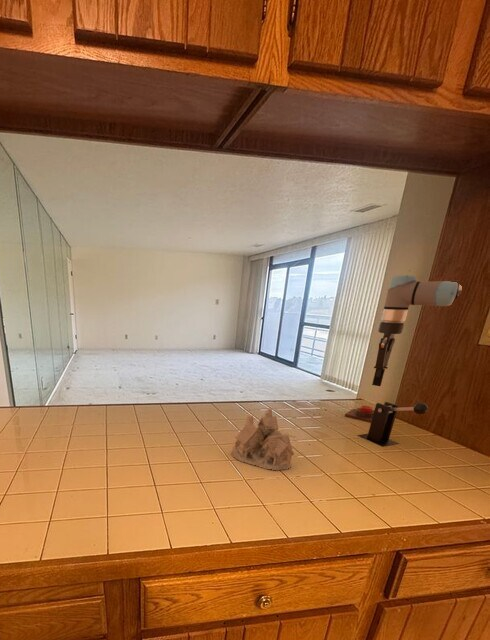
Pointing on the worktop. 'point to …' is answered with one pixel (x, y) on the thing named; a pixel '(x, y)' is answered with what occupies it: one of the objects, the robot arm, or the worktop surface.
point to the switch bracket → (381, 425)
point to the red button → (366, 409)
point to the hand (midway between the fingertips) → (376, 385)
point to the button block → (360, 415)
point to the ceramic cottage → (263, 444)
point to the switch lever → (412, 408)
